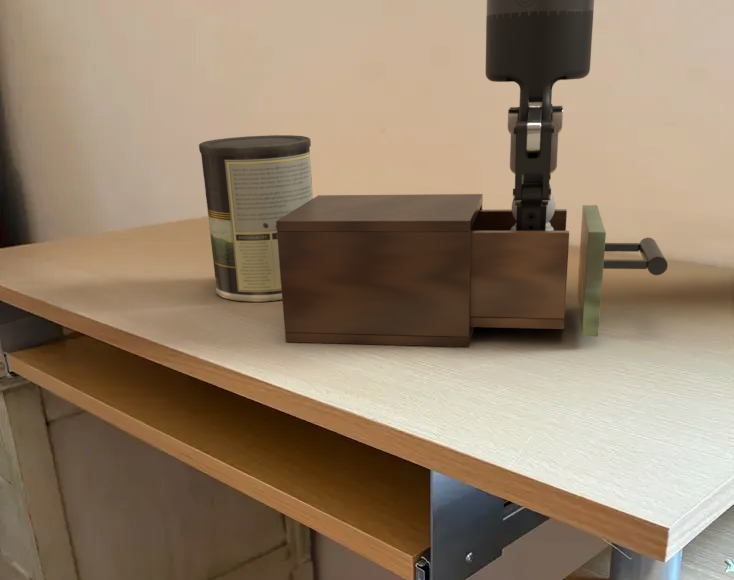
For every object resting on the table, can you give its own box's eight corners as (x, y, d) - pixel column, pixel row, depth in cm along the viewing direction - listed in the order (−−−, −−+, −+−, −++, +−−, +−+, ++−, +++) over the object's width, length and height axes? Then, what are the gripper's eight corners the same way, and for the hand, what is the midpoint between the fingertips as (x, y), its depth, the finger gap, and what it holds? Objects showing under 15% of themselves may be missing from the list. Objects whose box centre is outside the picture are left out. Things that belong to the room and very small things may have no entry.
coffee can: (194, 297, 80) (175, 145, 75) (252, 273, 89) (240, 135, 83) (285, 306, 76) (272, 146, 70) (337, 280, 84) (330, 135, 79)
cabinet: (481, 302, 75) (482, 193, 71) (468, 347, 63) (470, 220, 60) (324, 299, 78) (317, 195, 74) (285, 342, 66) (275, 221, 62)
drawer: (647, 297, 71) (656, 204, 68) (664, 338, 61) (676, 231, 58) (436, 293, 75) (435, 205, 72) (418, 332, 64) (416, 231, 61)
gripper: (599, 0, 52) (582, 270, 59) (589, 10, 65) (576, 231, 71) (479, 6, 53) (475, 269, 60) (492, 15, 66) (488, 231, 73)
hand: (530, 247), depth 66 cm, fingers closed on chess piece, 3 cm apart
